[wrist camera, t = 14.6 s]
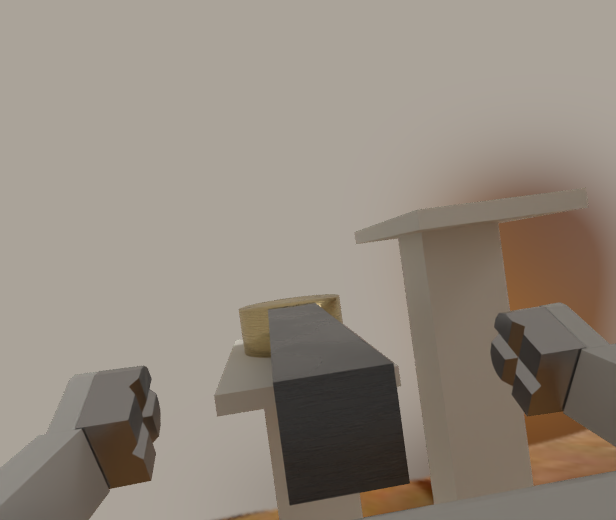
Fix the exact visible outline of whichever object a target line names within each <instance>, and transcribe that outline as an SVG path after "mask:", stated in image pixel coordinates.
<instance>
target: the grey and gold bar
mask: <svg viewBox="0 0 616 520" xmlns="http://www.w3.org/2000/svg"><path fill="white" fill-rule="evenodd" d="M239 314H240V322H241V329H242V337H243V344H244V351H245V355H247V356H250V357H259V358H271V363H272V379H273V388H274V395H275V403H276V410H277V417H278V425H279V432H280V439H281V447H282V454H283V461H284V468H285V476H286V483H287V490H288V498H289V505H290V506H291V505H296V504H301V503H307V502H312V501H318V500H323V499H328V498H334V497H339V496H344V495H350V494H355V493H361V492H366V491H371V490H377V489H382V488H388V487H393V486H398V485H404V484H409V483H410V481H409V474H408V467H407V460H406V452H405V445H404V437H403V430H402V422H401V415H400V408H399V400H398V393H397V385H396V378H395V371H394V363H393V362H391V361H390V360H389V359H387V358H386V357H385V356H384V355H382V354H381V353H380V352H378V351H377V350H376V349H374V348H373V347H372V346H371V345H369V344H368V343H367V342H365V341H364V340H363V339H361V338H360V337H359V336H358V335H356V334H355V333H354V332H352V331H351V330H350V329H348V328H347V327H346V326H345V325H343V321H342V314H341V306H340V299H339V295H335V294H330V295H329V294H326V295H312V296H303V297H294V298H287V299H280V300H274V301H268V302H263V303H258V304H254V305H249V306H246V307H243V308H240V309H239Z"/></svg>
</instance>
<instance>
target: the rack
mask: <svg viewBox="0 0 616 520" xmlns="http://www.w3.org/2000/svg"><path fill="white" fill-rule="evenodd" d="M587 207H588V199H587V192H586V188H583V189H575V190H568V191H560V192H552V193H544V194H536V195H529V196H521V197H513V198H505V199H497V200H490V201H482V202H474V203H466V204H459V205H451V206H444V207H435V208H428V209H420V210H416V211H412V212H410V213H407V214H404V215H401V216H398V217H396V218H393V219H390V220H387V221H385V222H382V223H379V224H376V225H373V226H370V227H368V228H365V229H362V230H360V231H356V232H355V239H356V244H359V243H367V242H374V241H382V240H389V239H397V238H398V240H399V247H400V255H401V262H402V270H403V277H404V285H405V292H406V299H407V307H408V313H409V321H410V329H411V336H412V344H413V351H414V358H415V366H416V373H417V381H418V388H419V395H420V403H421V410H422V417H423V425H424V432H425V439H426V447H427V454H428V462H429V469H430V477H431V484H432V491H433V499H434V505H435V504H440V503H446V502H451V501H456V500H462V499H467V498H472V497H478V496H483V495H489V494H494V493H499V492H505V491H510V490H515V489H521V488H526V487H532V486H533V479H532V471H531V464H530V456H529V449H528V442H527V434H526V427H525V419H524V412H523V410H522V408H521V407H520V406H519V404H518V403H517V402H516V400H515V399H514V397H513V396H512V395H511V394H512V388H513V386H511V385H509V384H507V383H505V382H503V381H502V380H501V379H500V378H499V376H498V375H497V373H496V371H495V369H494V367H493V365H492V360H491V354H490V351H491V342H492V341H493V340H494V338H495V337H496V336H497V335H498V334H499V333H498V331H497V330H496V329H495V328H494V324H495V318H496V317H497V315H498V313H501V312H508V311H510V308H509V301H508V293H507V285H506V278H505V271H504V263H503V257H502V248H501V241H500V233H499V226H498V223H502V222H508V221H514V220H519V219H525V218H531V217H536V216H542V215H548V214H554V213H559V212H565V211H571V210H576V209H582V208H587ZM343 325H344V324H343ZM346 327H347V326H346ZM347 328H348V327H347ZM348 329H349V328H348ZM351 331H352V330H351ZM352 332H353V331H352ZM355 334H356V333H355ZM356 335H357V334H356ZM359 337H360V336H359ZM360 338H361V337H360ZM361 339H362V338H361ZM363 340H364V339H363ZM364 341H365V340H364ZM365 342H366V341H365ZM368 344H369V343H368ZM369 345H370V344H369ZM372 347H373V346H372ZM373 348H374V347H373ZM374 349H375V348H374ZM376 350H377V349H376ZM377 351H378V350H377ZM378 352H379V351H378ZM381 354H382V353H381ZM382 355H383V354H382ZM384 356H385V355H384ZM385 357H386V356H385ZM386 358H387V357H386ZM387 359H388V358H387ZM389 360H390V359H389ZM390 361H391V360H390ZM391 362H392V361H391ZM393 363H394V362H393ZM394 371H395V378H396V385H397V387H398V386H401V383H400V375H399V368H398V365H396V364H395V363H394ZM215 404H216V411H217V416H223V415H229V414H235V413H241V412H247V411H253V410H259V409H264V411H265V418H266V425H267V432H268V440H269V447H270V455H271V461H272V469H273V476H274V483H275V491H276V499H277V506H278V513H279V520H354V519H359V518H363V515H362V507H361V500H360V493H355V494H350V495H344V496H339V497H334V498H328V499H323V500H318V501H312V502H307V503H301V504H296V505H291V506H290V505H289V498H288V490H287V483H286V476H285V468H284V461H283V454H282V447H281V439H280V432H279V425H278V417H277V410H276V403H275V395H274V388H273V379H272V363H271V358H259V357H250V356H247V355H245V351H244V344H243V339H242V340H236V341H235V343H234V346H233V349H232V352H231V354H230V356H229V359H228V362H227V364H226V367H225V370H224V372H223V374H222V377H221V380H220V382H219V385H218V388H217V390H216V393H215Z"/></svg>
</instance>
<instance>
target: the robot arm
mask: <svg viewBox="0 0 616 520" xmlns="http://www.w3.org/2000/svg"><path fill="white" fill-rule="evenodd" d="M494 328H495V329H496V330H497V331H498V333H499V334H498V335H497V336H496V337H495V338H494V340H493V341H492V342H491V351H490V354H491V360H492V365H493V367H494V369H495V371H496V373H497V375H498V376H499V378H500V379H501V380H502V381H503V382H505V383H507V384H509V385H511V386H513V388H512V394H511V395H512V396H513V397H514V399H515V400H516V402H517V403H518V404H519V406H520V407H521V408H522V410H523V411H524V412H525V414H526V415H527V416H534V415H540V414H548V413H554V412H561V411H564V412H563V413H564V414H565V415H567V416H569V417H570V418H572V419H573V420H575V421H576V422H578V423H580V424H581V425H583V426H584V427H586V428H587V429H589V430H590V431H592V432H594V433H595V434H597V435H598V436H600V437H601V438H603V439H605V440H606V441H608V442H609V443H611V444H612V445H614V446H615V447H616V344H611V345H610V344H609V343H608V342H607V341H605V340H604V339H603V338H602V337H601V336H600V335H599V334H598V333H597V332H596V331H594V330H593V329H592V328H591V327H590V326H589V325H588V324H587V323H585V321H583V320H582V319H581V318H580V317H579V316H578V315H577V314H576V313H575V312H573V311H572V310H571V309H570V308H569V307H568V306H567V305H565V304H562V303H555V304H549V305H543V306H539V307H533V308H527V309H521V310H515V311H508V312H501V313H498V315H497V317H496V318H495V324H494ZM150 383H151V376H150V374H149V371H148V368H147V367H145V366H137V367H129V368H121V369H113V370H106V371H99V372H93V373H85V374H77V375H74V376H73V377H72V378H71V379H70V380H69V382H68V385H67V387H66V389H65V392H64V394H63V396H62V399H61V401H60V403H59V405H58V408H57V410H56V412H55V415H54V417H53V419H52V421H51V424H50V426H49V428H48V431H47V433H46V434H45V435H39V436H37V437H36V438H35V439H34V440H33V441H31V443H29V444H28V445H27V446H26V447H24V448H23V449H22V450H21V451H20V452H19V453H18V454H16V455H15V456H14V457H13V458H11V459H10V460H9V461H8V462H7V463H6V464H4V465H3V466H2V467H1V468H0V520H89V518H90V517H91V516H92V515H93V513H94V512H95V511H96V509H97V508H98V507H99V505H100V504H101V503H102V501H103V500H104V499H105V497H106V496H107V495H108V493H109V491H110V490H109V489H111V488H117V487H122V486H127V485H132V484H137V483H142V482H147V481H151V479H152V473H153V467H154V461H155V456H156V452H155V449H154V446H153V442H154V441H155V440H156V439H157V438H158V437H159V431H160V407H159V401H158V398H157V395H156V393H155V392H153V391H152V390H150V389H149V388H150ZM354 520H616V471H612V472H607V473H602V474H596V475H591V476H585V477H580V478H575V479H569V480H564V481H558V482H553V483H548V484H542V485H537V486H532V487H526V488H521V489H515V490H510V491H505V492H499V493H494V494H489V495H483V496H478V497H472V498H467V499H462V500H456V501H451V502H446V503H440V504H435V505H429V506H424V507H418V508H413V509H408V510H402V511H397V512H391V513H386V514H381V515H375V516H370V517H364V518H359V519H354Z"/></svg>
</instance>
